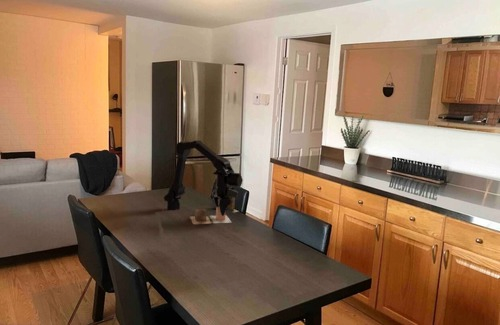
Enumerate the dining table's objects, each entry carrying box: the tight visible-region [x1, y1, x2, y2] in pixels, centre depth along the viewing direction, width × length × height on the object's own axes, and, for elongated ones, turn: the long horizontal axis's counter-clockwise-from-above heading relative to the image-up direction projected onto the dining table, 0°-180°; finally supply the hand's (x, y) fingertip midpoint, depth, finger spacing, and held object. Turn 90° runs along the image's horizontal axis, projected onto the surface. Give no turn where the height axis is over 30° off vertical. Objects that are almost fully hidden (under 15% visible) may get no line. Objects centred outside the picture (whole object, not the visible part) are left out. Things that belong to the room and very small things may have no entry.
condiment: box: [226, 196, 239, 213], centre depth 225 cm, size 7×8×12 cm
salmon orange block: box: [215, 206, 226, 220], centre depth 206 cm, size 4×4×6 cm
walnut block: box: [194, 208, 208, 222], centre depth 203 cm, size 5×5×5 cm
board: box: [189, 214, 233, 225], centre depth 205 cm, size 20×12×1 cm, turn 108°
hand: (220, 212), depth 206 cm, fingers open, 9 cm apart
